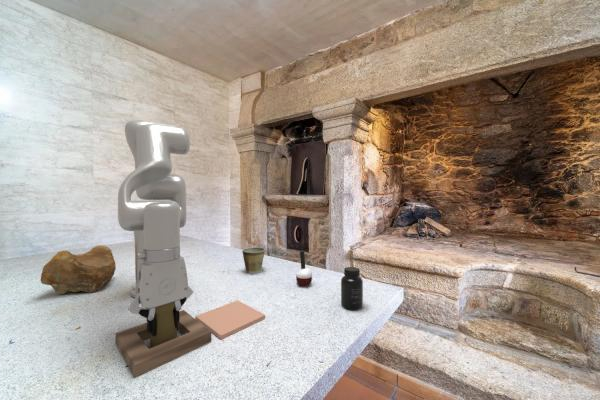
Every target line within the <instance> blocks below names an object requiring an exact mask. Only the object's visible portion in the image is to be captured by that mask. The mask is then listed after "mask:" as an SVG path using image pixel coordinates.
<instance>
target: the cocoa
mask: <svg viewBox="0 0 600 400" xmlns="http://www.w3.org/2000/svg"><path fill="white" fill-rule="evenodd" d="M299 255H300V256H299V260H300V269H299V270H298V272H297V273H296V274H295V278H296V279H295V280H296V283H297V284H298V286H300V287H303V288H306V287H308V286H310V285H311V284H312V281H313V271H312V270H311V269H310V267H306V262H305V261H306V259H305V258H306V256H305V251H304V250H301V251H299Z"/></svg>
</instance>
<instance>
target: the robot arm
mask: <svg viewBox="0 0 600 400" xmlns="http://www.w3.org/2000/svg"><path fill="white" fill-rule="evenodd" d="M124 135H125V140H126V143H127V144H128V147H129V149H130V151H131V154H132V157H133V160H134V170H133V171H131V172H130V173H129V174H128V175H127V176H126V177H125V178H124V179H123V181H122V183H120V186H119V188H118V193H117V221H118V224H119V226H120V227H121V229H123V230H125V231H127V232H133V236H134V237H133V238H134V265H135V268H134V269H135V287H133V288H132V289H131V290H130V292H129V293H130V297H132V298H134V299H133V300H132V302H131V304H130V305H129V307H128V312H129V313H130V314H134V315H140V316H141V317H142V318H145V319H146V323H147V332H148V333H149V332H150V333H151V335H152V336H153V337H154V336H156V334H157V320H156V318H155V316H154V314H155V307H159V306H162V305H165V304H169V303H172V302H175V307H174V309H173V313H174V323H175V327H176V329H177V327H178V322H179V320H180V317H179V311H182V307H183V305H184V304H185V303H186V302H187V299H189V298H190V297H191V296H192V295H193V294H194V290H192V288H191V287H190V286H189V281H188V280H189V279H188V272H187V271H188V270H187V267H186V266H187V265H186V261H185V258H184V257H183V256H181V238H180V237H181V233H180V229H182V228H184V227H185V226H186V223H187V190H186V189H187V187H186V182H185V179H184V177H183V176H181V175H179V174H171V173H172V170H173V169H172V168H173V166H172V160H171V154H173V155H186V154H188V153H189V151H190V147H191V140H190V134H189V132H188V131H187V130H186V129H185V128H184V127H182V126H180V125H176V124H171V123H170V124H169V123H163V122H156V121H150V120H149V121H148V120H140V119H139V120H137V119H136V120H135V119H134V120H129V121H127V122H126V123H125V125H124ZM134 192H135V193H136V196H137V197H138V198H139V199H140V200H132V194H133V193H134ZM140 306H141V307H140Z"/></svg>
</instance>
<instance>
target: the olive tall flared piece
mask: <svg viewBox="0 0 600 400" xmlns="http://www.w3.org/2000/svg"><path fill="white" fill-rule="evenodd" d="M174 307H175V302H172V303H169V304H165V305H162V306H159V307H155V314H154V316H155V318H156V320H157V334H156V336H154V337H153V336H152V335H151V338H149V349H150V348H153V347H155V346H158V345H160V344H162V343H165V342H167V341H170V340H172V339H175V338H177V337H178V332H177V328H176V327H175V323H174V313H173V309H174Z"/></svg>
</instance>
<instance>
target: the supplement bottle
mask: <svg viewBox="0 0 600 400" xmlns="http://www.w3.org/2000/svg"><path fill="white" fill-rule="evenodd" d="M343 269H344V271H343V275H344V276H342V277H341V279H340V280H341V281H340V287H341V288H340V304H341V307H343V309H345V310H349V311H359V310H361V309H362V308H363V305H364V304H363V303H364V299H363V297H364V293H363V291H364V289H363V288H364V284H363V283H364V281H363V279H362V277H361V275H360V268H359V267H354V266H348V267H347V266H346V267H345V268H343Z"/></svg>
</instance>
